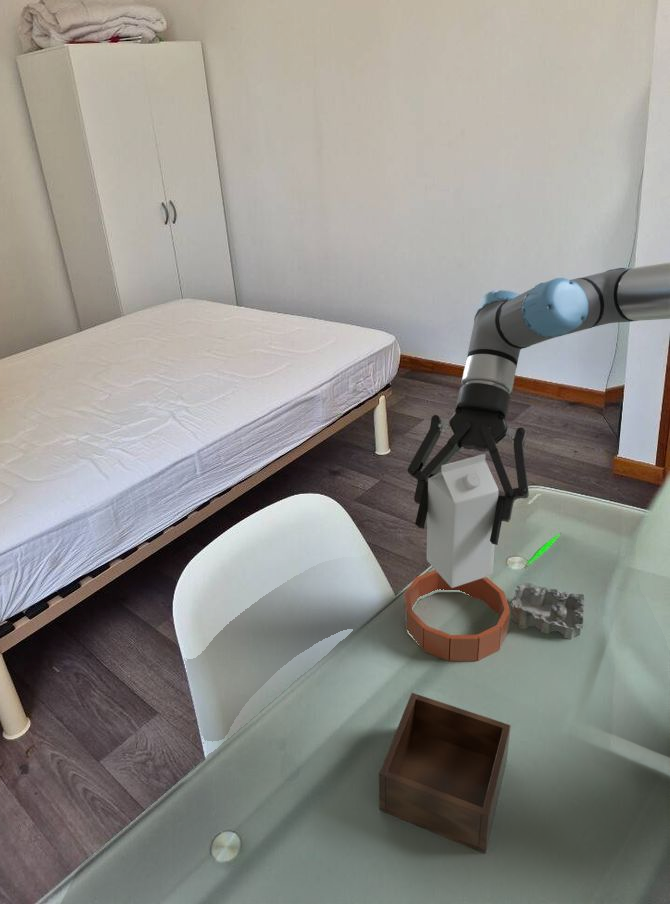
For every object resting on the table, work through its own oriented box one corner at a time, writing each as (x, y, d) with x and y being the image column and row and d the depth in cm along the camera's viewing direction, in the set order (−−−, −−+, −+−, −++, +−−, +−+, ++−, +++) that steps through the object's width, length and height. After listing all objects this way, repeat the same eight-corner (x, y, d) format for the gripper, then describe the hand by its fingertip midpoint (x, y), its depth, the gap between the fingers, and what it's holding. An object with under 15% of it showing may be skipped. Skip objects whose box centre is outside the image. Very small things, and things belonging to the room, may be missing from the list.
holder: (506, 760, 87) (510, 724, 84) (485, 853, 77) (488, 816, 74) (411, 727, 93) (411, 692, 90) (379, 810, 83) (378, 773, 80)
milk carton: (426, 561, 106) (428, 454, 98) (465, 548, 108) (471, 443, 100) (451, 589, 100) (455, 478, 92) (492, 575, 102) (500, 465, 94)
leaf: (564, 534, 128) (564, 530, 128) (525, 571, 120) (526, 567, 119) (559, 532, 129) (560, 528, 128) (521, 569, 120) (521, 565, 120)
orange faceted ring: (519, 609, 111) (521, 588, 109) (486, 676, 99) (488, 653, 97) (428, 578, 119) (429, 557, 117) (388, 637, 107) (388, 615, 105)
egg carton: (507, 626, 108) (509, 606, 106) (515, 595, 114) (517, 575, 112) (580, 644, 104) (583, 624, 102) (584, 611, 110) (587, 591, 108)
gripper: (565, 409, 102) (539, 556, 96) (418, 389, 112) (386, 522, 106) (564, 390, 96) (536, 548, 90) (408, 371, 105) (374, 513, 99)
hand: (455, 534), depth 98 cm, fingers closed on milk carton, 10 cm apart
